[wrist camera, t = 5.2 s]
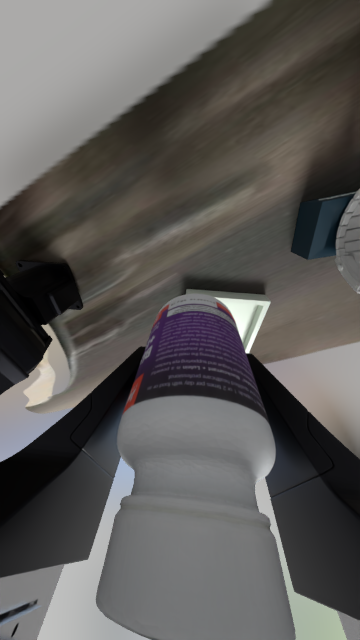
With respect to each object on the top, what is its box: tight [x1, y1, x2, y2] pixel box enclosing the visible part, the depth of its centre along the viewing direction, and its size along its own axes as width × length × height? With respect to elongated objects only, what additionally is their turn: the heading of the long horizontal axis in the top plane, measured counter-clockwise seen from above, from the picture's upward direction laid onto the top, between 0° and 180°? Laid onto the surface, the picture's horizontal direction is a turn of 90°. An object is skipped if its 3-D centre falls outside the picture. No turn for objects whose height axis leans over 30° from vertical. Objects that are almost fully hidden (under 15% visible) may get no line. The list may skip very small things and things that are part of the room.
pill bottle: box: [96, 294, 295, 640], centre depth 7 cm, size 5×5×10 cm
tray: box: [186, 289, 271, 353], centre depth 22 cm, size 10×10×2 cm
